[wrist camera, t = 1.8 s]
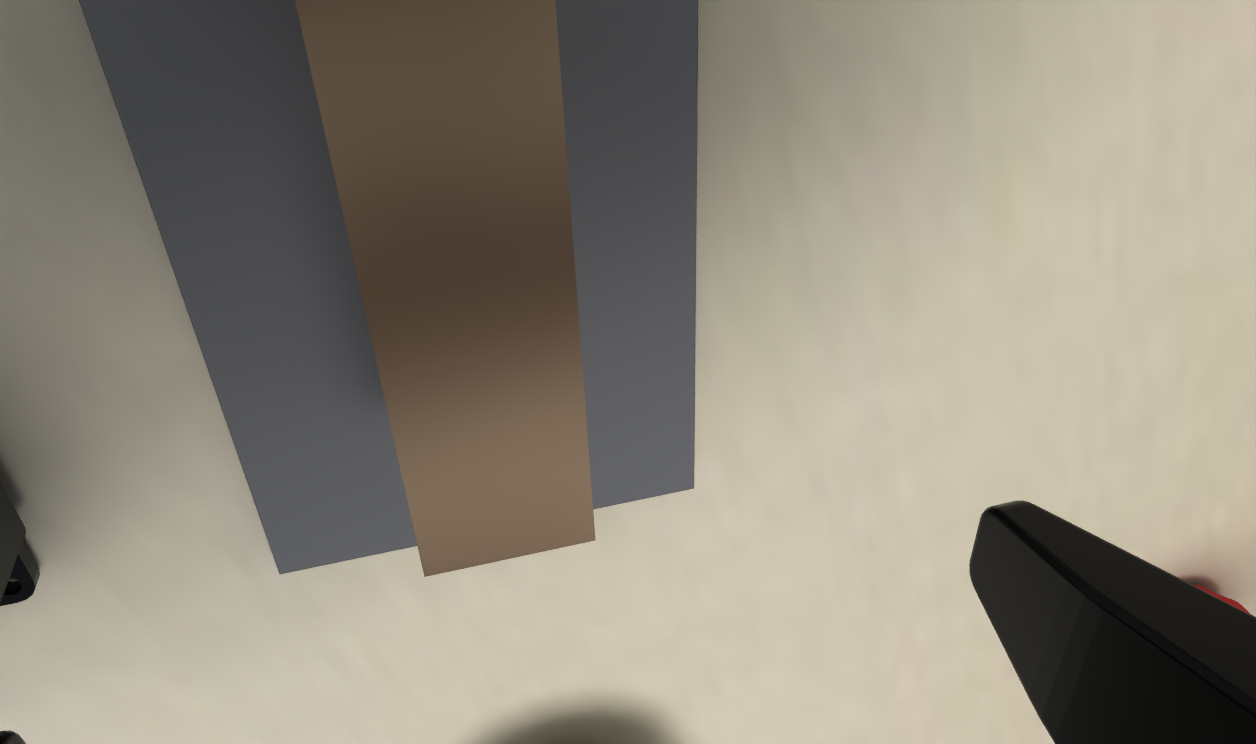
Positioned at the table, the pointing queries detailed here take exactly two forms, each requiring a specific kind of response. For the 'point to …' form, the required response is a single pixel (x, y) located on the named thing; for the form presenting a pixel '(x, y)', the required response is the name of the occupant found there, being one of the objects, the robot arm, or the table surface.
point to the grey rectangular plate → (325, 272)
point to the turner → (463, 261)
